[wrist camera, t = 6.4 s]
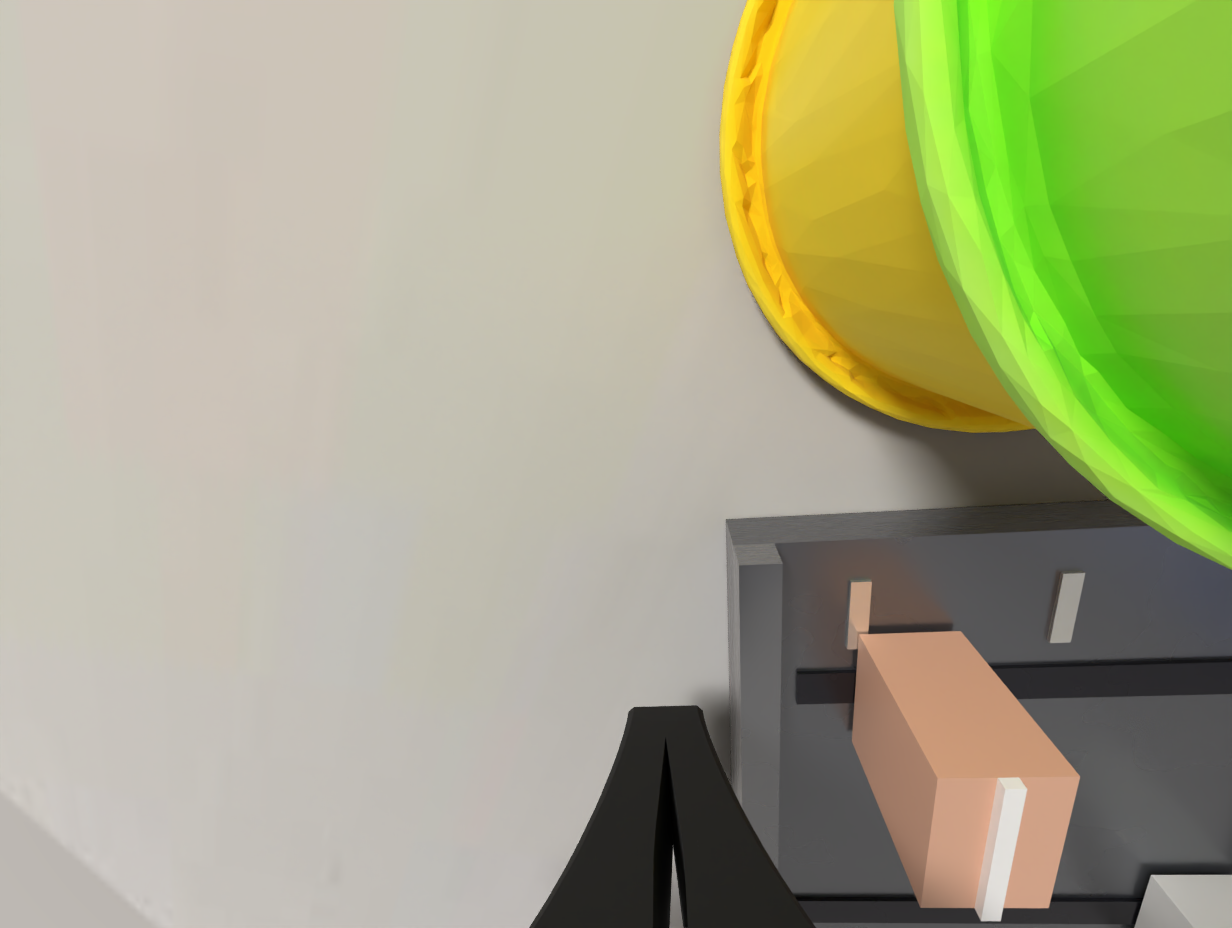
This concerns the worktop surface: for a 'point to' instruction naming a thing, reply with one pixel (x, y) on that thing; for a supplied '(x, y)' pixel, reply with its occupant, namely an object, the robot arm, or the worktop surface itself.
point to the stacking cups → (1003, 225)
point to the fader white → (1187, 902)
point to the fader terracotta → (960, 774)
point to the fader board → (1024, 661)
